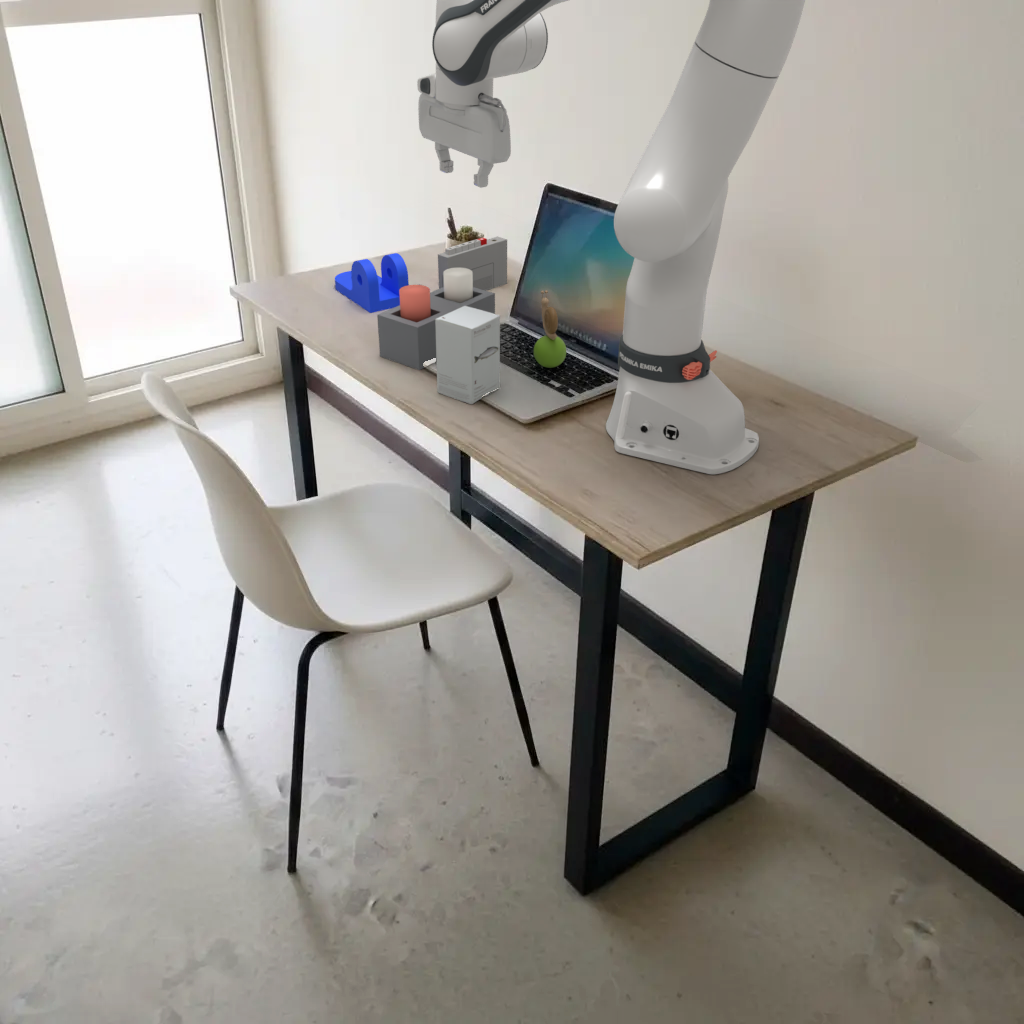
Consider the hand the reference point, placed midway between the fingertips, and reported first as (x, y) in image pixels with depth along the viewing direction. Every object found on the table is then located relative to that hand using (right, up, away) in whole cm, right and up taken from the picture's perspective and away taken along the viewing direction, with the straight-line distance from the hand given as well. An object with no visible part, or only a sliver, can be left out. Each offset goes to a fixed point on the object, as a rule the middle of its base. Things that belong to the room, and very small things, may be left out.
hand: (463, 178), depth 169 cm
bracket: (-20, -12, +35) cm, 42 cm away
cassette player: (0, -11, +36) cm, 38 cm away
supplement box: (+1, -35, -2) cm, 35 cm away
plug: (-2, -18, +15) cm, 23 cm away
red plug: (-8, -23, +8) cm, 25 cm away
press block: (-5, -24, +14) cm, 29 cm away
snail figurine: (+14, -29, +7) cm, 33 cm away
